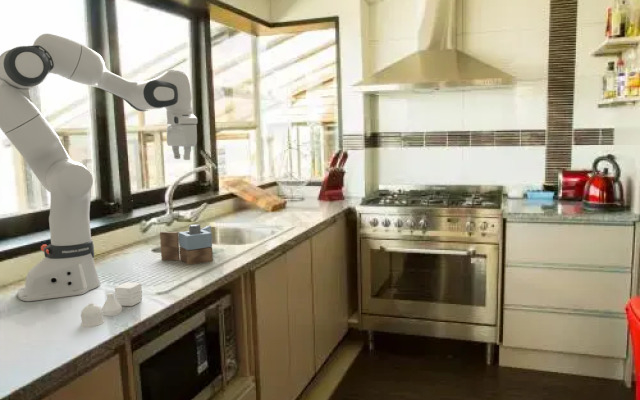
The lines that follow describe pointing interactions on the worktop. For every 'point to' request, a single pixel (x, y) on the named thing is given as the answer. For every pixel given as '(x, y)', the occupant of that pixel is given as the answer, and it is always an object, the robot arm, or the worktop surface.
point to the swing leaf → (196, 239)
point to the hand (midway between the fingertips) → (182, 159)
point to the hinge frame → (182, 250)
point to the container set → (112, 304)
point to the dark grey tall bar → (194, 229)
